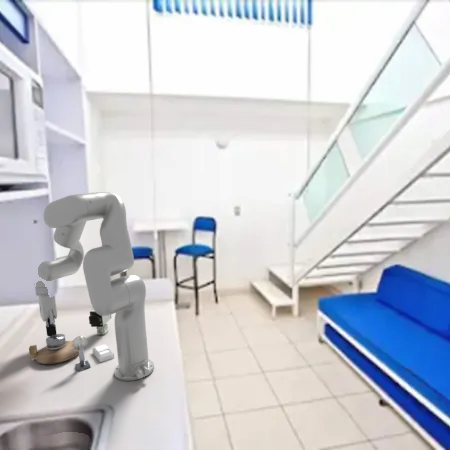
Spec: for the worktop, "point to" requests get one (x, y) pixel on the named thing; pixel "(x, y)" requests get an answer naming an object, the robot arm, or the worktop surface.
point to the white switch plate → (103, 353)
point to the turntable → (53, 354)
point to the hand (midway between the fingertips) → (51, 334)
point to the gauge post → (81, 352)
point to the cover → (55, 342)
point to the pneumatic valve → (99, 322)
